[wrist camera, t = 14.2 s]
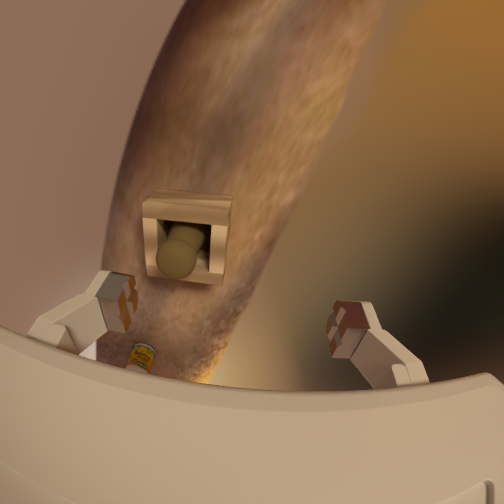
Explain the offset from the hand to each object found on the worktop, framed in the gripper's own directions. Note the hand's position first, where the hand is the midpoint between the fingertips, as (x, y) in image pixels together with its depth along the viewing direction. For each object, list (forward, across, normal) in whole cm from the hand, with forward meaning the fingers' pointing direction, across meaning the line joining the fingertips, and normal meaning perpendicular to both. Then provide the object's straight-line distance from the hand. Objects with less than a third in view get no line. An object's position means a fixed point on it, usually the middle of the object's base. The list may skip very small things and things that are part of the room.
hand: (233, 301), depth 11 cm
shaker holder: (+29, +7, +14) cm, 33 cm away
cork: (+30, +8, +13) cm, 33 cm away
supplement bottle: (+28, +19, +46) cm, 57 cm away
